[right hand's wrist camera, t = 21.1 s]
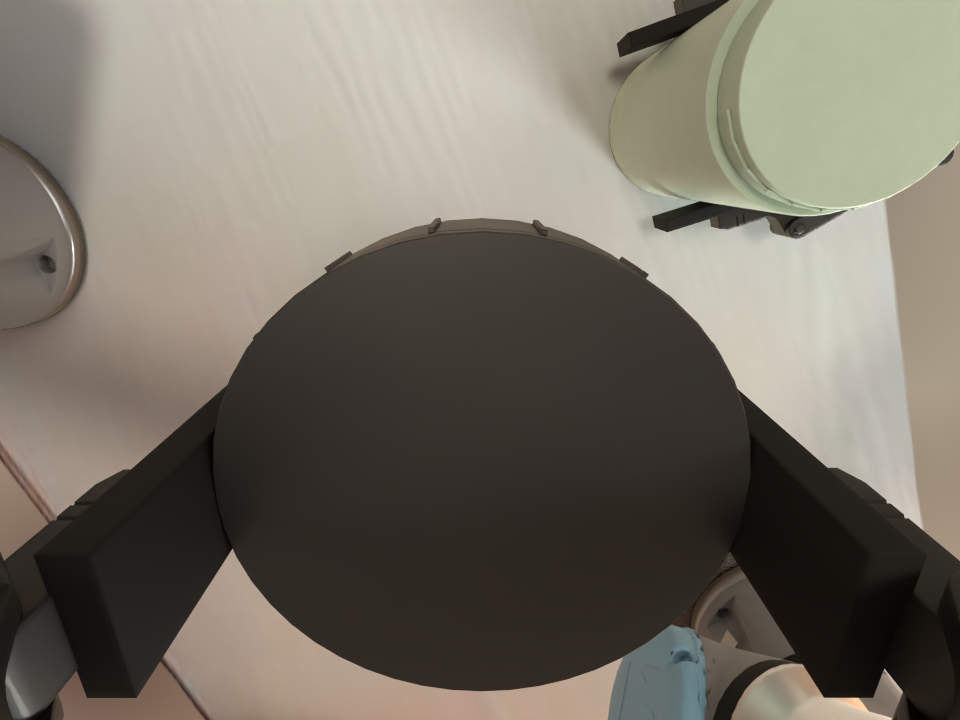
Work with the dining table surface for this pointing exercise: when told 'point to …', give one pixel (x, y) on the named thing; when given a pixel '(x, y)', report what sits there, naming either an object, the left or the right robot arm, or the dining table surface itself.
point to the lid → (481, 457)
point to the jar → (794, 104)
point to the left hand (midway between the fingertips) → (642, 139)
